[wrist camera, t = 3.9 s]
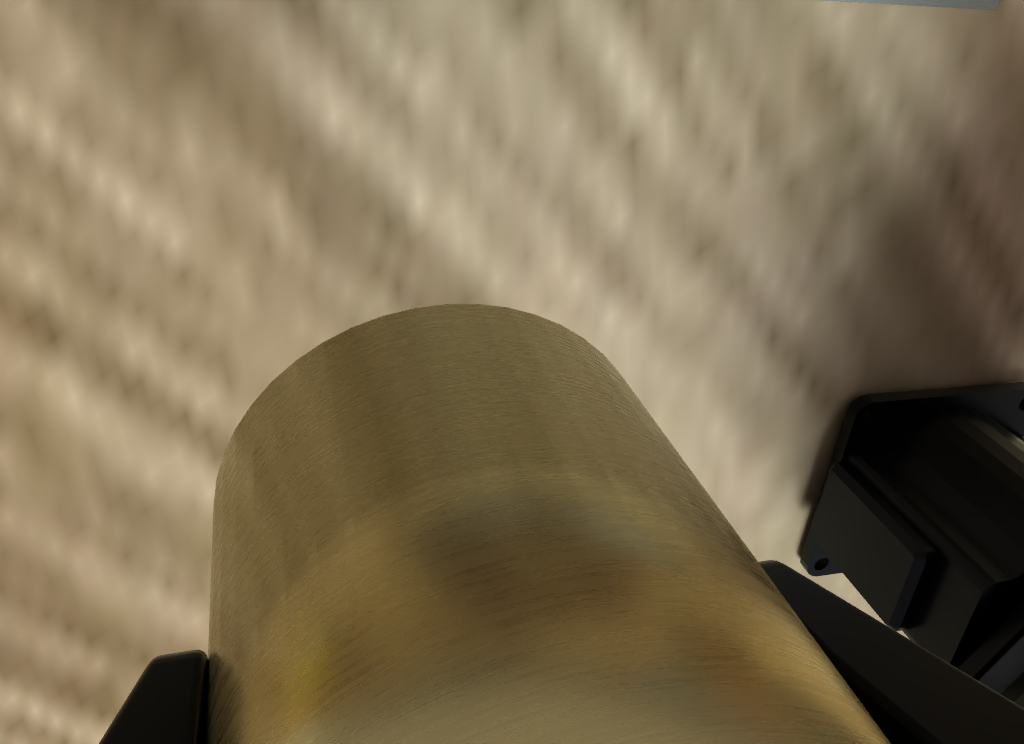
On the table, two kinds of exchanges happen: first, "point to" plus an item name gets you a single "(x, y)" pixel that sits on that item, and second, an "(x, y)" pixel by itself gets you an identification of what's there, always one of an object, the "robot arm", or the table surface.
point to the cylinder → (489, 559)
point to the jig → (938, 3)
